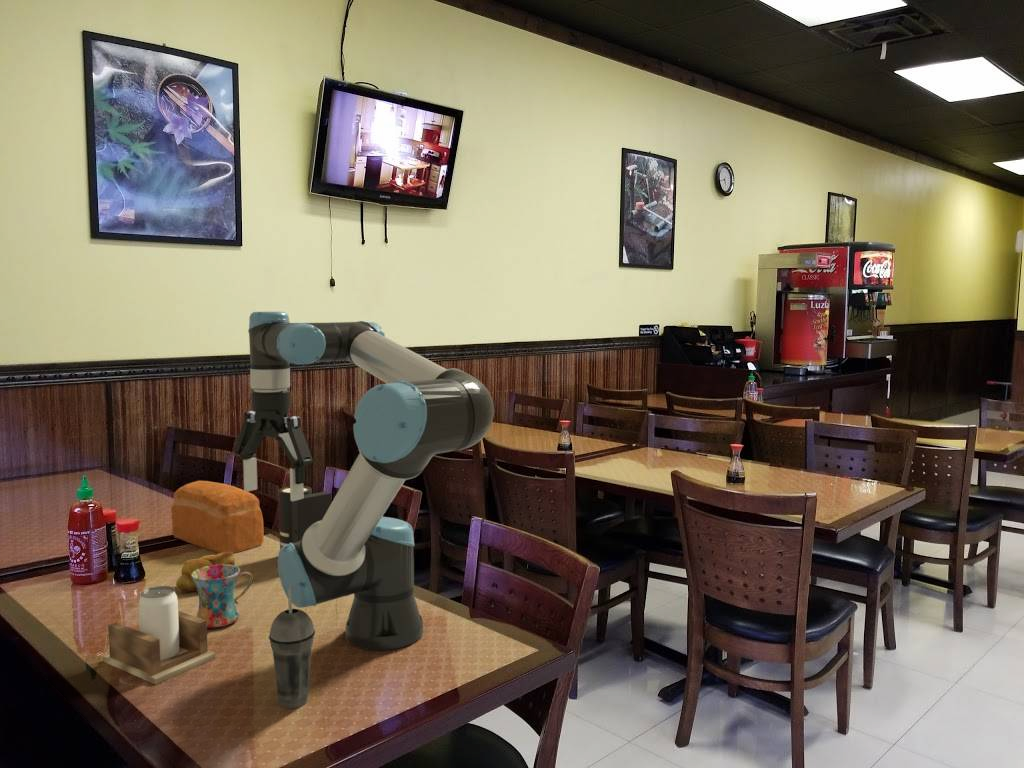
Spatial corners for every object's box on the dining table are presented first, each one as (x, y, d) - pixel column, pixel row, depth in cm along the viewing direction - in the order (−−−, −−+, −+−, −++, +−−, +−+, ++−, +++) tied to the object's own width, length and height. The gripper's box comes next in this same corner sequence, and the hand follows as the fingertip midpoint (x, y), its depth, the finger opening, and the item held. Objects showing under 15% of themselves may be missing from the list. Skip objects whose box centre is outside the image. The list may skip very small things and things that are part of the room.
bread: (213, 526, 228) (211, 473, 227) (268, 544, 212) (266, 487, 211) (167, 538, 217) (165, 481, 216) (222, 557, 202) (220, 497, 200)
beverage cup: (320, 690, 134) (318, 576, 132) (311, 712, 126) (308, 592, 124) (277, 690, 133) (274, 576, 131) (265, 713, 126) (261, 592, 124)
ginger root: (183, 599, 174) (181, 563, 173) (168, 586, 181) (166, 553, 180) (240, 585, 182) (238, 551, 181) (223, 574, 189) (222, 541, 189)
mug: (200, 635, 155) (198, 583, 154) (187, 620, 162) (185, 570, 161) (261, 620, 162) (259, 570, 161) (245, 606, 170) (244, 558, 168)
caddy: (215, 658, 145) (214, 621, 144) (155, 684, 135) (154, 645, 134) (162, 637, 154) (161, 603, 153) (102, 661, 144) (100, 624, 143)
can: (168, 643, 149) (166, 582, 147) (186, 653, 145) (184, 590, 143) (134, 655, 144) (131, 592, 142) (151, 666, 140) (149, 601, 138)
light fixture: (306, 549, 208) (305, 483, 206) (333, 562, 198) (332, 493, 196) (271, 557, 201) (269, 489, 199) (297, 571, 191) (295, 499, 189)
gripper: (330, 392, 152) (332, 499, 155) (244, 383, 166) (247, 483, 168) (300, 396, 146) (303, 508, 148) (214, 387, 159) (217, 490, 162)
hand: (273, 495), depth 158 cm, fingers open, 13 cm apart
